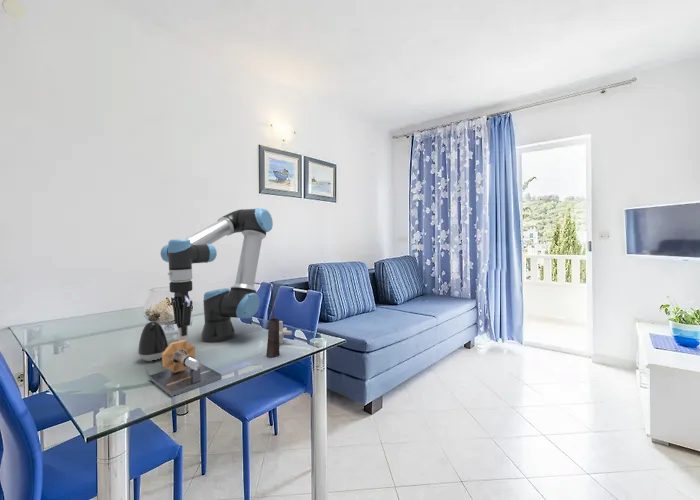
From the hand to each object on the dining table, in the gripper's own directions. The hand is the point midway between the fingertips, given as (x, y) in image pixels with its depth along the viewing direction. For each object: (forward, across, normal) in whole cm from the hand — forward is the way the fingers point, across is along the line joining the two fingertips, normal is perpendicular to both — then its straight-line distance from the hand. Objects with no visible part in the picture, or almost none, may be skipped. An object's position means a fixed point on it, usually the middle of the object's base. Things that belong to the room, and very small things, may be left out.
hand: (183, 343), depth 120 cm
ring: (+7, +7, -4) cm, 11 cm away
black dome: (+9, -18, -4) cm, 21 cm away
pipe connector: (+9, +8, +39) cm, 41 cm away
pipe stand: (+9, +11, -4) cm, 15 cm away
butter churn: (+9, +18, +28) cm, 34 cm away
